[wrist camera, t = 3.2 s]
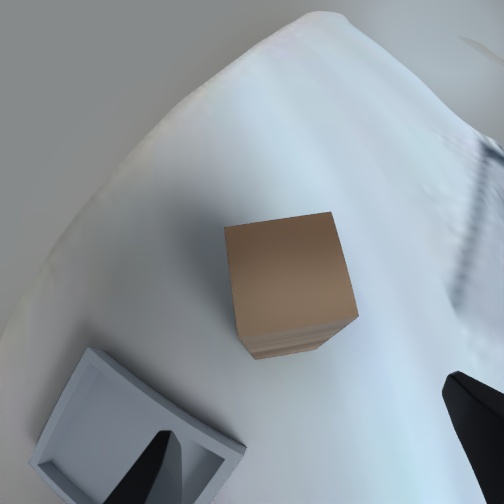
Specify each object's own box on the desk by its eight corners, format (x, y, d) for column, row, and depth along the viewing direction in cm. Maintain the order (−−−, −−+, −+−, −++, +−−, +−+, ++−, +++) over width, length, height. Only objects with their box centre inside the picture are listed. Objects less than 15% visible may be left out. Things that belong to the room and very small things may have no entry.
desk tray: (246, 447, 18) (243, 455, 15) (165, 554, 13) (155, 567, 11) (104, 351, 21) (87, 346, 18) (46, 460, 17) (28, 463, 14)
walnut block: (315, 349, 20) (358, 316, 10) (255, 359, 20) (238, 337, 10) (304, 292, 22) (331, 211, 12) (246, 301, 22) (224, 227, 12)
